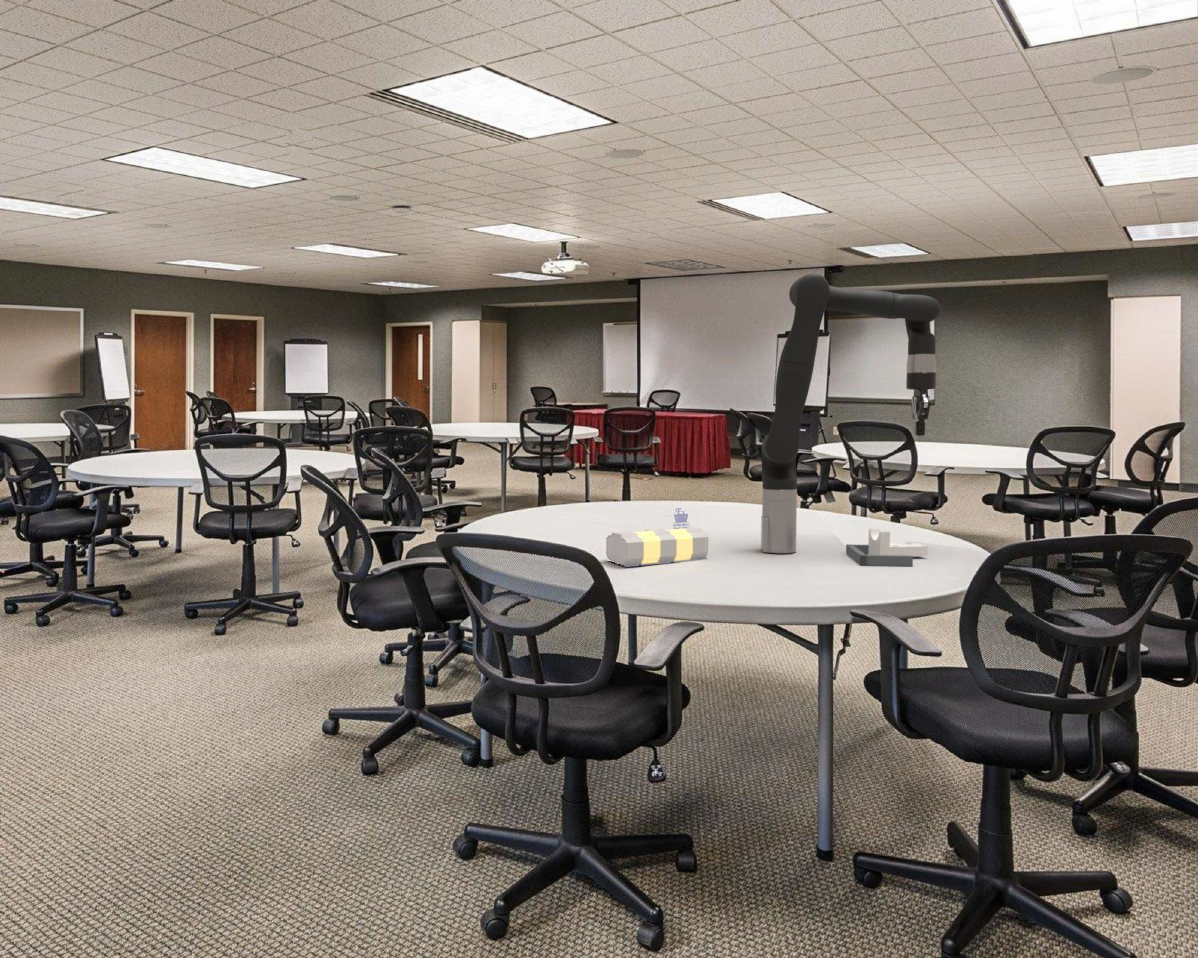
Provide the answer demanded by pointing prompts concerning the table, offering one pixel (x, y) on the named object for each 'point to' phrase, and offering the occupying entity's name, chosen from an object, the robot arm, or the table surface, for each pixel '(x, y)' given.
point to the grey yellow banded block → (658, 545)
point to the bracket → (892, 545)
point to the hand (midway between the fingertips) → (919, 435)
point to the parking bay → (876, 557)
